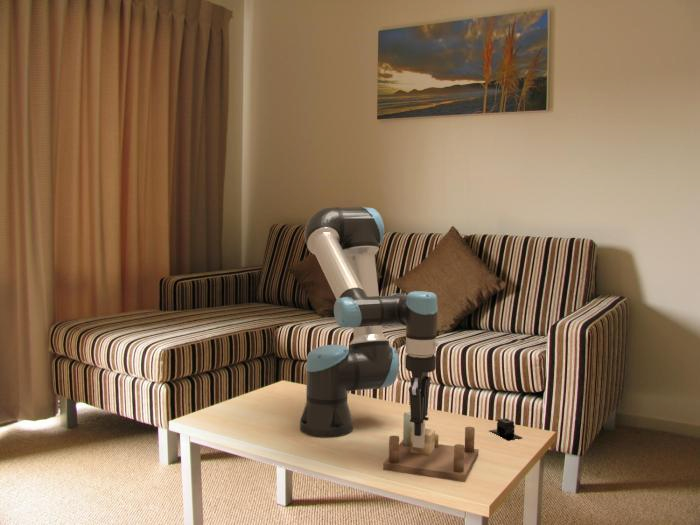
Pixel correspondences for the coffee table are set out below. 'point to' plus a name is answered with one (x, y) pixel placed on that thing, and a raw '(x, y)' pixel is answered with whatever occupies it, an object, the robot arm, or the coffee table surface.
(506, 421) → the black bracket plate
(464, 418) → the coffee table surface
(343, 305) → the robot arm
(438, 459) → the stool board
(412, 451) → the maple block
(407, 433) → the gate leg
